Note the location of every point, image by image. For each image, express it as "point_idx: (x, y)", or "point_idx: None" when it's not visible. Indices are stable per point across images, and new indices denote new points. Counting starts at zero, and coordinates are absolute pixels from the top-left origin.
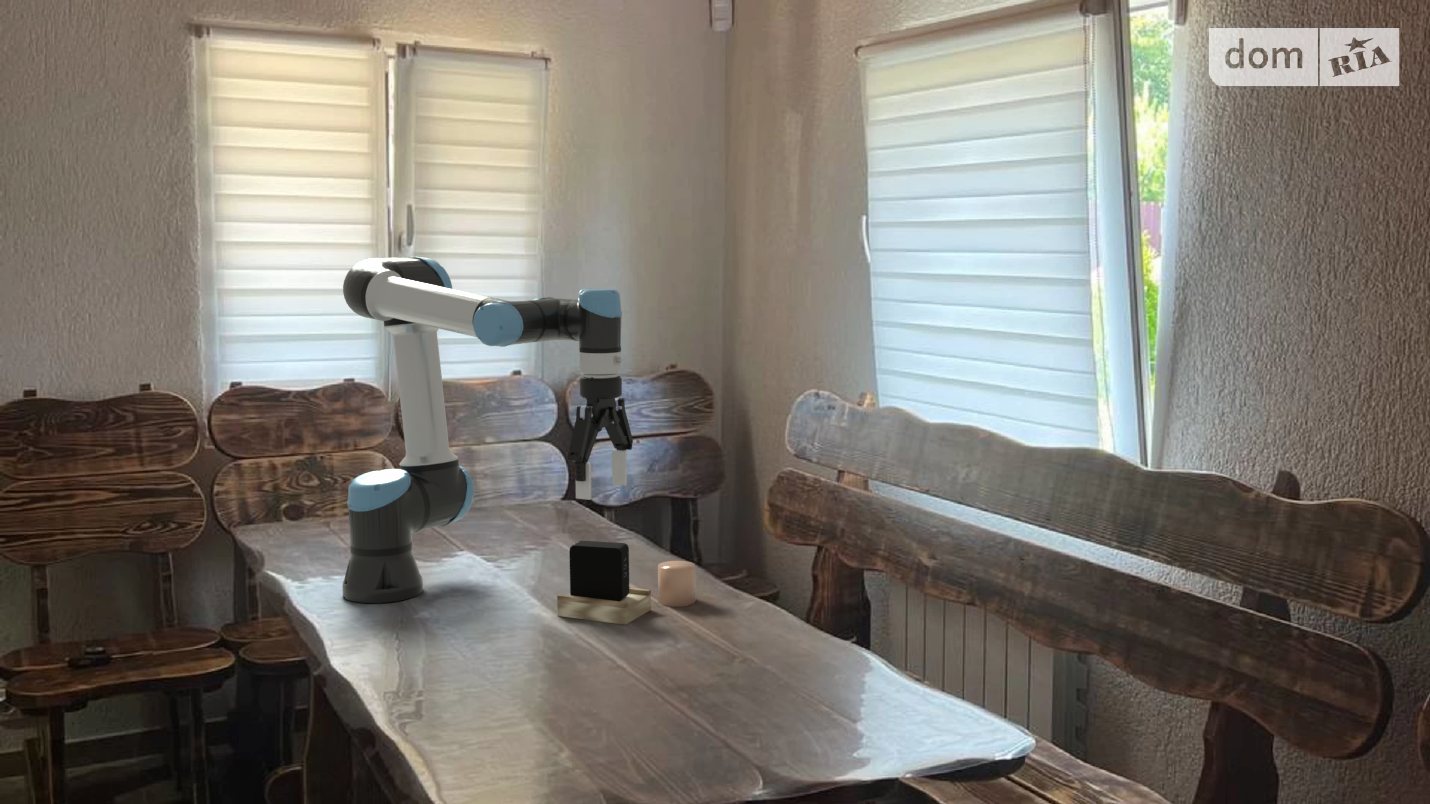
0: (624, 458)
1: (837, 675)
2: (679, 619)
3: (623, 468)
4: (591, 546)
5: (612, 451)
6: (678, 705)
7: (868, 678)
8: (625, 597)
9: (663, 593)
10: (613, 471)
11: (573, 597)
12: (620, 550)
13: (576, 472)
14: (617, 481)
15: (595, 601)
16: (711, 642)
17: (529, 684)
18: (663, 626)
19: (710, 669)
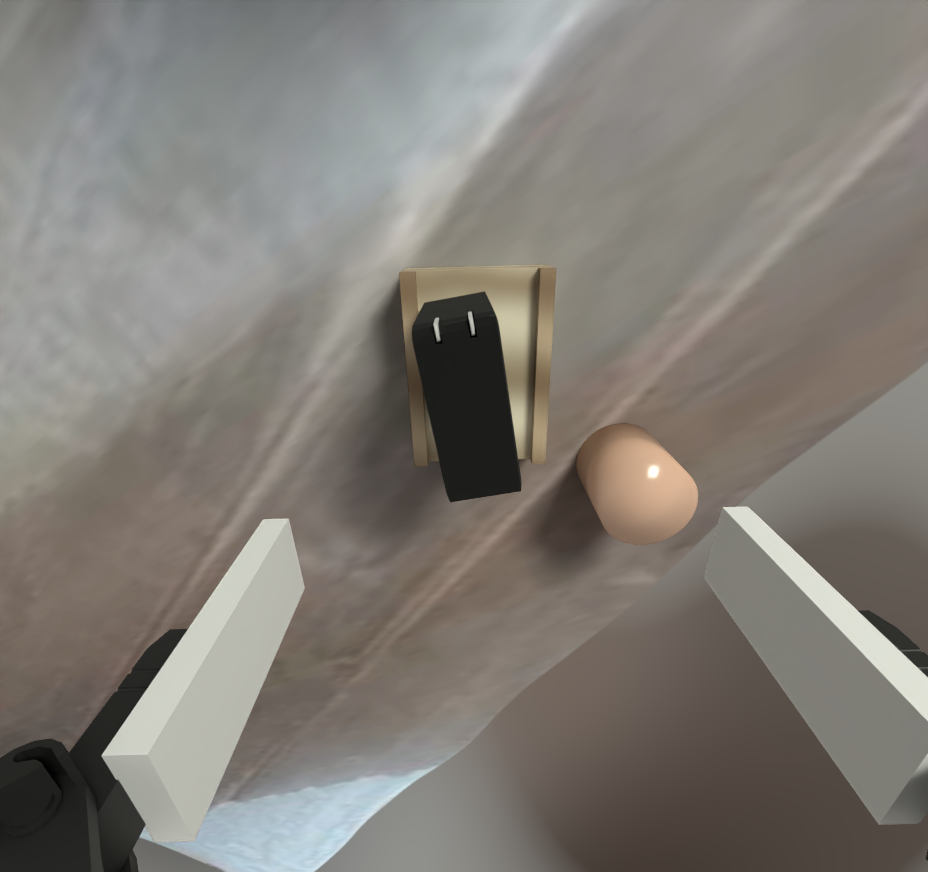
0: (823, 744)
1: (356, 757)
2: (497, 515)
3: (772, 658)
4: (430, 413)
5: (919, 726)
6: None
7: (366, 780)
8: None
9: (587, 461)
10: (774, 574)
11: (403, 326)
12: (450, 501)
13: (116, 700)
14: (726, 552)
15: (409, 390)
16: (399, 606)
17: (30, 459)
18: (443, 509)
19: (285, 647)
